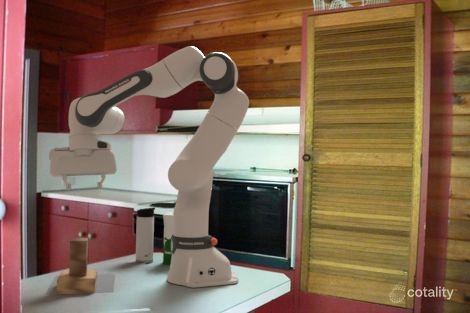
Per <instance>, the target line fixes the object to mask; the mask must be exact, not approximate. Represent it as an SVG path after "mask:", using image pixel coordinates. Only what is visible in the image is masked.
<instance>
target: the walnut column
mask: <svg viewBox="0 0 470 313" xmlns="http://www.w3.org/2000/svg"><path fill="white" fill-rule="evenodd" d="M88 256H89V238H88V237H71V239H70V240H69V262H68V263H69V264H68V265H69V267H68V268H69V269H68V270H69V277H73V276H86V274H87V270H88Z"/></svg>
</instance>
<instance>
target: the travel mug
mask: <svg viewBox="0 0 470 313" xmlns="http://www.w3.org/2000/svg"><path fill="white" fill-rule="evenodd" d="M155 210H156V207H155V206H154V207H147V208H139V209H137V211H136V230H135V232H136V236H135V239H136V240H135V262H136V263H145V264H151V263H153V262H154V237H155V236H154V232H155Z"/></svg>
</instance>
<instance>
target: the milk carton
mask: <svg viewBox="0 0 470 313" xmlns="http://www.w3.org/2000/svg"><path fill="white" fill-rule="evenodd" d="M174 208H175V206H174V207H173V209H174ZM162 218H163V226H164V227H163V254H162V264H163V265H170V264H171V258H172V252H171V239H172V235H173V220H174V211H173V212H166V213H164V214H162Z"/></svg>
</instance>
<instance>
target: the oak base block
mask: <svg viewBox="0 0 470 313" xmlns="http://www.w3.org/2000/svg"><path fill="white" fill-rule="evenodd" d="M97 275H98V269H87V274H86V276H73V277H69V269H68V270H66V269H65V270H61V272H60V274H59V275H58V276H59V277H58V279H57V294H56V295H70V294H71V295H72V294H74V293H78V294H96V293H95V290H96V286H97Z"/></svg>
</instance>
